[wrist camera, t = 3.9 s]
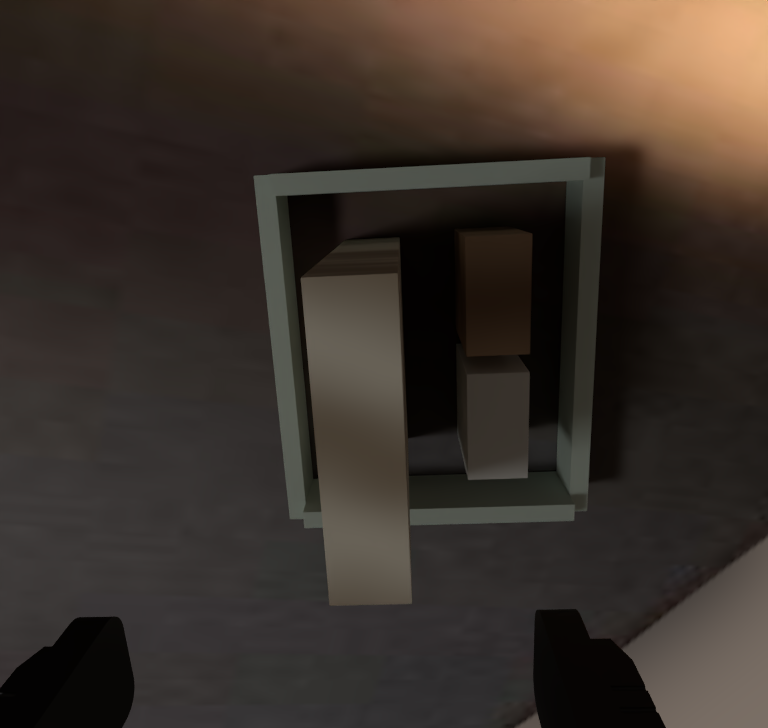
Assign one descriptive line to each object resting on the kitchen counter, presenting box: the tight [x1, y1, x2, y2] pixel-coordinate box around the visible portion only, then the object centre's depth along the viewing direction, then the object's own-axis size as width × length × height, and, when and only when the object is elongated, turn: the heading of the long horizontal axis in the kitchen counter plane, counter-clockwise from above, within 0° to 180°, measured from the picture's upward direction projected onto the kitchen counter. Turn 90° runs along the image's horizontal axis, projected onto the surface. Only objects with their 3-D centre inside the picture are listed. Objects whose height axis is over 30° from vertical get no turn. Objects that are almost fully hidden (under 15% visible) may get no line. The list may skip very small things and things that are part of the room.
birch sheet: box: [301, 237, 412, 606], centre depth 27 cm, size 12×3×15 cm, turn 3°
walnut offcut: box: [454, 226, 532, 357], centre depth 30 cm, size 6×3×6 cm, turn 3°
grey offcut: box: [456, 344, 530, 480], centre depth 32 cm, size 6×3×6 cm, turn 3°
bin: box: [254, 157, 605, 528], centre depth 32 cm, size 19×17×4 cm
